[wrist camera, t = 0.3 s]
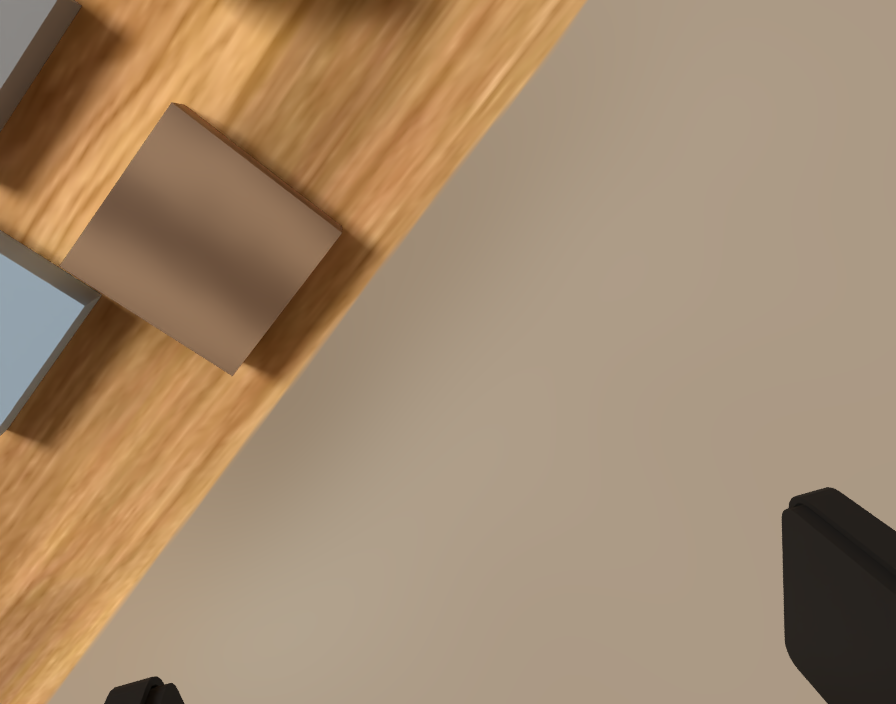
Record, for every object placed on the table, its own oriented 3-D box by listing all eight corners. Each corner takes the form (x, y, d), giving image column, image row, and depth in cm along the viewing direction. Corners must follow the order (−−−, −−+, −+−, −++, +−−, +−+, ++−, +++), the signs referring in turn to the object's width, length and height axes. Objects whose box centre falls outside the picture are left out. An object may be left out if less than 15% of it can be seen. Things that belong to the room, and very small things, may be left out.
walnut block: (185, 104, 33) (171, 102, 31) (341, 225, 37) (342, 232, 34) (81, 255, 35) (59, 266, 32) (240, 358, 38) (232, 376, 35)
